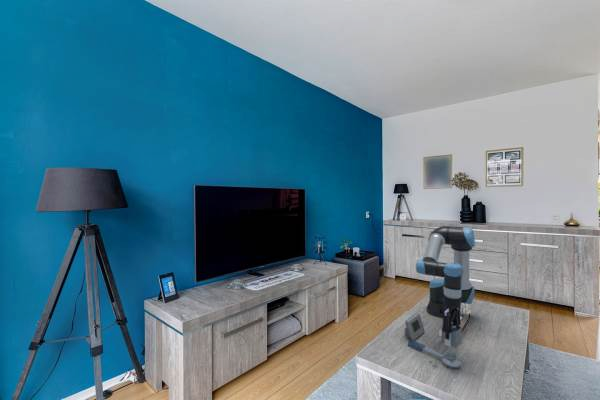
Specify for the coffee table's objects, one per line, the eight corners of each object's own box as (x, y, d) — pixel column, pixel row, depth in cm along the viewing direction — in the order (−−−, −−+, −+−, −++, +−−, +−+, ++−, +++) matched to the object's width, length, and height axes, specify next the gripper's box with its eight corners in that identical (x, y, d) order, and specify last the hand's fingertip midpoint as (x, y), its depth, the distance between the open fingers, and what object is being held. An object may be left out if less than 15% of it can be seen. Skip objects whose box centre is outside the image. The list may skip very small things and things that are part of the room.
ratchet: (413, 342, 156) (413, 332, 156) (463, 365, 135) (463, 354, 135) (405, 347, 151) (405, 337, 151) (455, 371, 130) (456, 360, 130)
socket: (447, 338, 140) (447, 320, 140) (461, 343, 135) (461, 325, 135) (441, 342, 136) (441, 324, 136) (455, 348, 131) (455, 329, 131)
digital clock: (412, 342, 156) (412, 323, 155) (399, 335, 163) (399, 317, 163) (429, 334, 164) (430, 316, 164) (416, 328, 172) (416, 311, 172)
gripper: (453, 289, 144) (452, 333, 144) (434, 298, 132) (433, 346, 133) (469, 294, 138) (468, 339, 138) (451, 303, 126) (450, 353, 127)
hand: (451, 342), depth 136 cm, fingers closed on socket, 6 cm apart
